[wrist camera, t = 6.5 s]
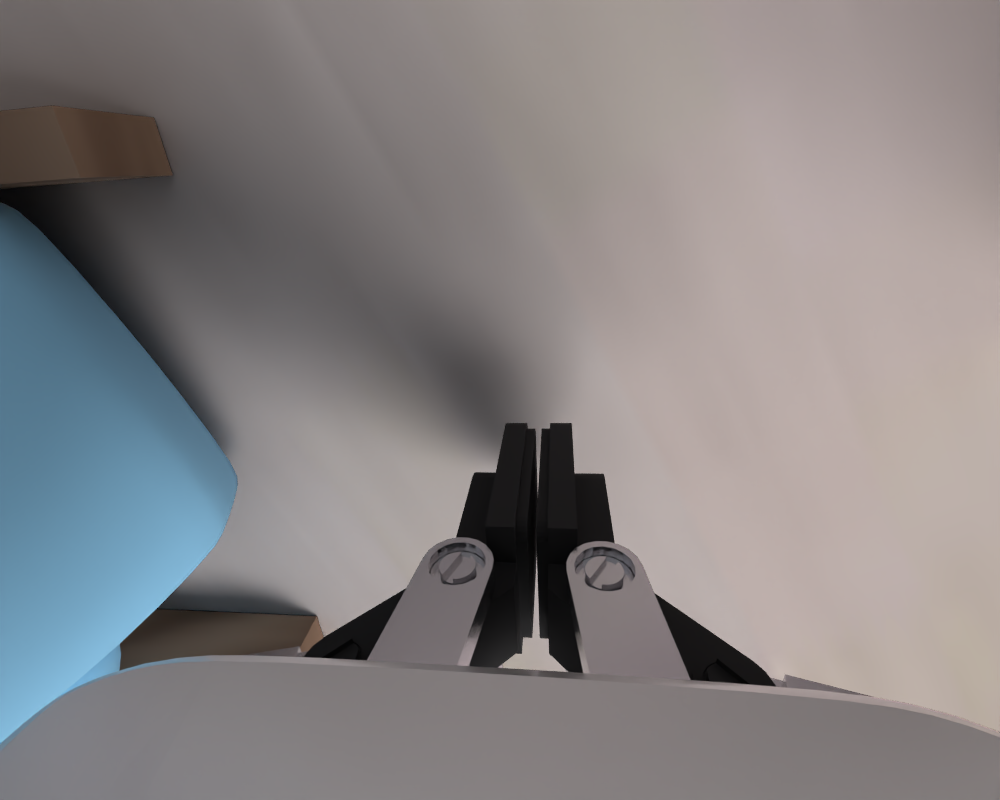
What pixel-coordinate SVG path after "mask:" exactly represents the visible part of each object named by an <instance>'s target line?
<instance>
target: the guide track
mask: <svg viewBox="0 0 1000 800" xmlns="http://www.w3.org/2000/svg"><path fill="white" fill-rule="evenodd" d="M170 175H173V174H172V171H171V168H170V165H169V162H168V159H167V156H166V153H165V150H164V147H163V144H162V141H161V138H160V135H159V132H158V129H157V125H156V122H155V119H154V118H152V117H144V116H135V115H127V114H119V113H110V112H102V111H93V110H85V109H77V108H68V107H60V106H42V107H32V108H23V109H13V110H3V111H0V189H7V188H19V187H32V186H44V185H57V184H70V183H82V182H95V181H107V180H120V179H132V178H145V177H157V176H170ZM322 638H324V637H323V634H322V631H321V628H320V625H319V622H318V619H317V616H297V615H275V614H252V613H230V612H207V611H185V610H162V609H156V610H155V611H154V612H153V613H152V614H150V615H149V616H148V617H147V618H146V619H145V620H144V621H143V622H142V623H141V624H140V625H139V626H138V627H137V628H136V629H135V630H134V631H133V632H132V633H131V634H129V635H128V636H127V637H126V638H125V639H124V640H123V641H122V642H121V643H120V651H121V660H120V670H123V669H127V668H131V667H134V666H138V665H141V664H145V663H151V662H157V661H163V660H169V659H175V658H182V657H195V656H207V655H247V654H253V653H259V652H266V651H272V650H278V649H285V648H291V647H297V646H299V647H300V650H301V652H306V651H309V650H310V648H311V647H312V646H313V645H314V644H316V643H317V642H318V641H320V640H321V639H322ZM120 670H119V671H120Z"/></svg>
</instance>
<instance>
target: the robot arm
mask: <svg viewBox="0 0 1000 800" xmlns="http://www.w3.org/2000/svg"><path fill="white" fill-rule="evenodd" d="M536 557H537V569H538V597H539V626H540V638H548V639H549V654H550V655H551V656H553V657H554V658H555V659H556V660H557V661H558V662H559V663H560V664H561V665H562V666H563V667H564V668H565V669H566V672H557V671H540V670H524V669H508V668H503V663H504V662H505V661H507V660H508V659H509V658H510V657H512V656H513V655H514V654H515V653H517V654H522V643H523V637H529V638H532V633H533V614H534V595H535V576H536ZM0 800H1000V732H999V731H996V730H993V729H991V728H988V727H985V726H982V725H980V724H977V723H974V722H971V721H969V720H966V719H963V718H960V717H958V716H954V715H950V714H947V713H943V712H939V711H936V710H932V709H928V708H924V707H921V706H917V705H913V704H909V703H903V702H898V701H892V700H887V699H882V698H876V697H872V696H868V695H864V694H860V693H856V692H852V691H848V690H844V689H841V688H837V687H833V686H829V685H825V684H821V683H817V682H813V681H809V680H805V679H801V678H797V677H793V676H789V675H785V676H784V679H783V681H781V680H777V679H773V678H770V677H769V676H768V675H767V673H766V672H765V671H764V670H763V669H762V668H760V667H759V666H758V665H757V664H756V663H755V662H753V661H752V660H751V659H749V658H748V657H746V656H745V655H743V654H742V653H740V652H739V651H738V650H736V649H735V648H733V647H732V646H730V645H729V644H727V643H726V642H725V641H723V640H722V639H720V638H719V637H717V636H716V635H714V634H713V633H711V632H710V631H709V630H707V629H706V628H704V627H703V626H701V625H700V624H698V623H697V622H696V621H694V620H693V619H691V618H690V617H688V616H687V615H685V614H684V613H682V612H681V611H680V610H678V609H677V608H675V607H674V606H672V605H671V604H669V603H668V602H666V601H665V600H664V599H662V598H661V597H659V596H658V595H656V594H655V593H654V591H653V589H652V586H651V584H650V582H649V579H648V577H647V574H646V572H645V570H644V567H643V565H642V563H641V562H640V560H639V559H638V557H637V556H636V555H635V554H634V553H633V552H631V551H630V550H629V549H627V548H625V547H623V546H621V545H619V544H615V543H614V536H613V530H612V523H611V516H610V510H609V503H608V497H607V490H606V484H605V477H604V474H574V457H573V439H572V423H550V429H542V436H541V453H540V470H539V487H538V491H537V459H536V431H535V429H528V426H527V423H506V425H505V429H504V434H503V439H502V444H501V449H500V454H499V459H498V464H497V469H496V473H482V472H475V473H474V475H473V477H472V481H471V485H470V489H469V492H468V496H467V500H466V503H465V507H464V511H463V514H462V518H461V522H460V525H459V529H458V533H457V536H456V538H452V539H447V540H445V541H442V542H440V543H438V544H436V545H435V546H433V547H432V548H431V549H429V550H428V552H427V553H426V554H425V556H424V557H423V559H422V560H421V562H420V564H419V566H418V568H417V569H416V571H415V573H414V575H413V577H412V579H411V580H410V582H409V584H408V586H407V588H406V589H404V590H403V591H401V592H399V593H397V594H396V595H394V596H392V597H391V598H389V599H387V600H386V601H384V602H382V603H381V604H379V605H377V606H376V607H374V608H372V609H371V610H369V611H367V612H366V613H364V614H362V615H361V616H359V617H357V618H356V619H354V620H352V621H351V622H349V623H347V624H345V625H344V626H342V627H340V628H339V629H337V630H335V631H334V632H332V633H330V634H329V635H327V636H325V637H324V638H322V639H321V640H320V641H318V642H317V643H316V644H314V645H313V646H312V647H311V648H310V650H309V651H306V652H301V650H300V647H299V646H297V647H291V648H285V649H278V650H272V651H266V652H259V653H253V654H247V655H207V656H195V657H182V658H175V659H169V660H163V661H157V662H151V663H145V664H141V665H138V666H134V667H131V668H127V669H123V670H120V671H116V672H113V673H110V674H107V675H104V676H102V677H99V678H96V679H93V680H91V681H89V682H87V683H84V684H82V685H80V686H77V687H75V688H73V689H72V690H70V691H68V692H66V693H65V694H63V695H61V696H59V697H58V698H56V699H55V700H53V701H52V702H50V703H49V704H48V705H46V706H45V707H43V708H42V709H41V710H39V711H38V712H37V713H36V714H34V715H33V716H32V717H31V718H29V719H28V720H27V721H26V722H25V723H23V724H22V725H21V726H20V727H19V728H18V729H16V730H15V731H14V732H13V733H12V734H11V735H10V736H9V737H7V738H6V739H5V740H4V741H3V742H2V743H1V744H0Z"/></svg>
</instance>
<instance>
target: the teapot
mask: <svg viewBox="0 0 1000 800" xmlns="http://www.w3.org/2000/svg"><path fill="white" fill-rule="evenodd" d="M237 486H238V484H237V475H236V473H235V471H234V469H233V467H232V465H231V463H230V461H229V460H228V458H227V457H226V455H225V454H224V453H223V451H222V450H221V448H220V447H219V445H218V444H217V442H216V441H215V440H214V438H213V437H212V435H211V434H210V432H209V431H208V430H207V429H206V427H205V426H204V425H203V423H202V422H201V421H200V419H199V418H198V417H197V415H196V414H195V413H194V411H193V410H192V409H191V408H190V406H189V405H188V404H187V402H186V401H185V400H184V398H183V397H182V396H181V394H180V393H179V392H178V391H177V389H176V388H175V387H174V385H173V384H172V383H171V382H170V380H169V379H168V378H167V377H166V375H165V374H164V373H163V372H162V370H161V369H160V368H159V367H158V365H157V364H156V363H155V361H154V360H153V359H152V358H151V356H150V355H149V354H148V353H147V352H146V350H145V349H144V348H143V347H142V346H141V344H140V343H139V342H138V341H137V340H136V338H135V337H134V336H133V335H132V334H131V332H130V331H129V330H128V329H127V328H126V326H125V325H124V324H123V323H122V322H121V320H120V319H119V318H118V317H117V316H116V315H115V313H114V312H113V311H112V310H111V309H110V308H109V307H108V305H107V304H106V303H105V302H104V301H103V300H102V298H101V297H100V296H99V295H98V294H97V293H96V292H95V290H94V289H93V288H92V287H91V286H90V285H89V283H88V282H87V281H86V280H85V279H84V278H83V276H82V275H81V274H80V273H79V272H78V271H77V270H76V268H75V267H74V266H73V265H72V264H71V263H70V262H69V261H68V260H67V259H66V258H65V256H64V255H63V254H62V253H61V252H60V251H59V250H58V249H57V248H56V247H55V246H54V245H53V244H52V243H51V241H50V240H49V239H48V238H47V237H46V236H45V235H44V234H43V233H42V232H41V231H40V230H39V229H38V228H37V227H36V226H35V225H34V224H33V223H31V222H30V221H29V220H28V219H27V218H26V217H24V216H23V215H22V214H21V213H20V212H19V211H18V210H16V209H14V208H12V207H10V206H8V205H6V204H4V203H1V202H0V744H1V743H2V742H3V741H4V740H5V739H6V738H7V737H9V736H10V735H11V734H12V733H13V732H14V731H15V730H16V729H18V728H19V727H20V726H21V725H22V724H23V723H25V722H26V721H27V720H28V719H29V718H31V717H32V716H33V715H34V714H36V713H37V712H38V711H39V710H41V709H42V708H43V707H45V706H46V705H48V704H49V703H50V702H52V701H53V700H55V699H56V698H58V697H59V696H61V695H63V694H65V693H66V692H68V691H70V690H72V689H73V688H75V687H77V686H80V685H82V684H84V683H87V682H89V681H91V680H93V679H96V678H99V677H102V676H104V675H107V674H110V673H113V672H116V671H119V670H120V660H121V651H120V643H121V642H122V641H123V640H124V639H125V638H126V637H127V636H128V635H129V634H131V633H132V632H133V631H134V630H135V629H136V628H137V627H138V626H139V625H140V624H141V623H142V622H143V621H144V620H145V619H146V618H147V617H148V616H149V615H150V614H152V613H153V612H154V611H155V610H156V609H157V608H158V607H159V606H160V605H161V604H162V603H163V602H164V601H165V600H166V599H167V598H168V596H169V595H170V594H171V593H172V592H173V591H174V590H175V589H176V588H177V587H178V586H179V585H180V584H181V583H182V582H183V581H184V580H185V579H186V578H187V577H188V576H189V575H190V574H191V573H192V572H193V571H194V569H195V568H196V567H197V566H198V565H199V564H200V563H201V561H202V560H203V559H204V558H205V557H206V556H207V555H208V553H209V552H210V551H211V550H212V549H213V548H214V547H215V545H216V543H217V542H218V540H219V538H220V537H221V535H222V533H223V531H224V528H225V525H226V523H227V520H228V517H229V514H230V511H231V509H232V505H233V502H234V499H235V494H236V490H237Z"/></svg>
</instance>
